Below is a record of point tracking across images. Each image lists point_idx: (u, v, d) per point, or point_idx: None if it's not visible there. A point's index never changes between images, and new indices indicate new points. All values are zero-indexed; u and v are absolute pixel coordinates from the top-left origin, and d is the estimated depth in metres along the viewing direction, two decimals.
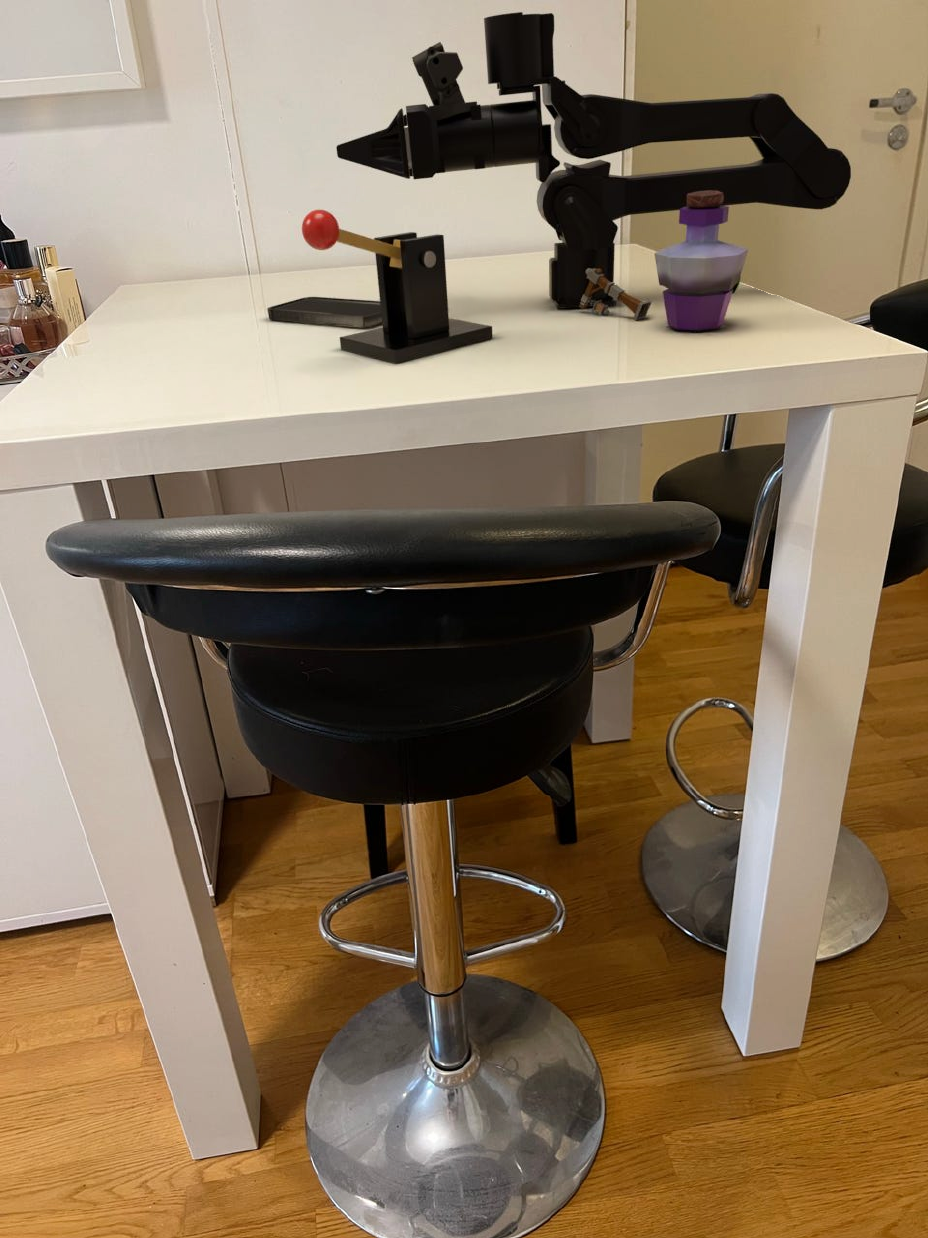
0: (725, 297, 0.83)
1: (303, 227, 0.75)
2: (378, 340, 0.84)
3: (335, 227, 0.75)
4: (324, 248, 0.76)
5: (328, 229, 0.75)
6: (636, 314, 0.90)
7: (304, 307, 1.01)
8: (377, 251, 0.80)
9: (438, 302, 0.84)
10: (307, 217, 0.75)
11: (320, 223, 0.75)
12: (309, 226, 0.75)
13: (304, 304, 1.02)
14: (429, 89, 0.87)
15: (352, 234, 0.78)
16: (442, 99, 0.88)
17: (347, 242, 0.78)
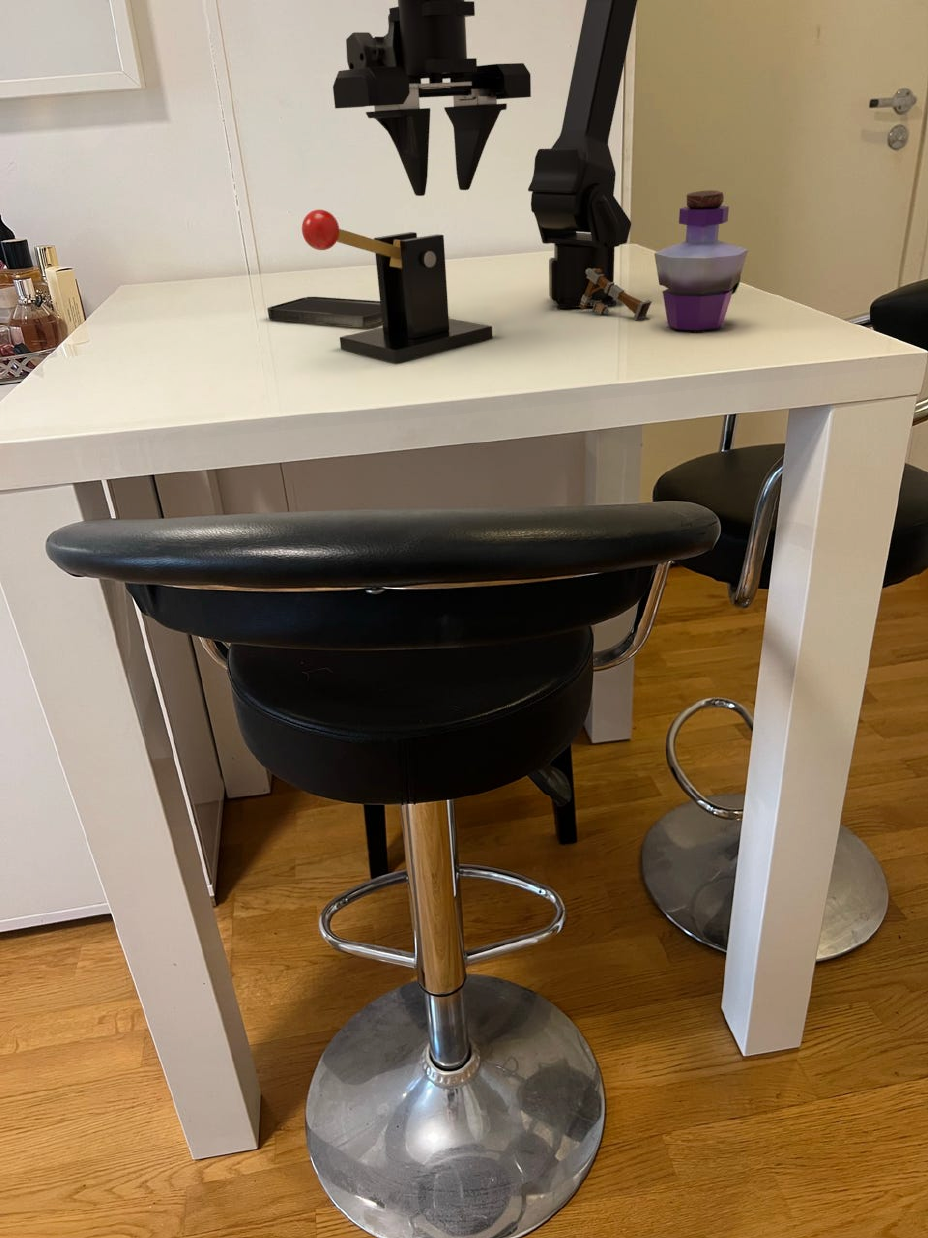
0: (725, 297, 0.83)
1: (303, 227, 0.75)
2: (378, 340, 0.84)
3: (335, 227, 0.75)
4: (324, 248, 0.76)
5: (328, 229, 0.75)
6: (636, 314, 0.90)
7: (304, 307, 1.01)
8: (377, 251, 0.80)
9: (438, 302, 0.84)
10: (307, 217, 0.75)
11: (320, 223, 0.75)
12: (309, 226, 0.75)
13: (304, 304, 1.02)
14: None
15: (352, 234, 0.78)
16: (385, 59, 0.79)
17: (347, 242, 0.78)
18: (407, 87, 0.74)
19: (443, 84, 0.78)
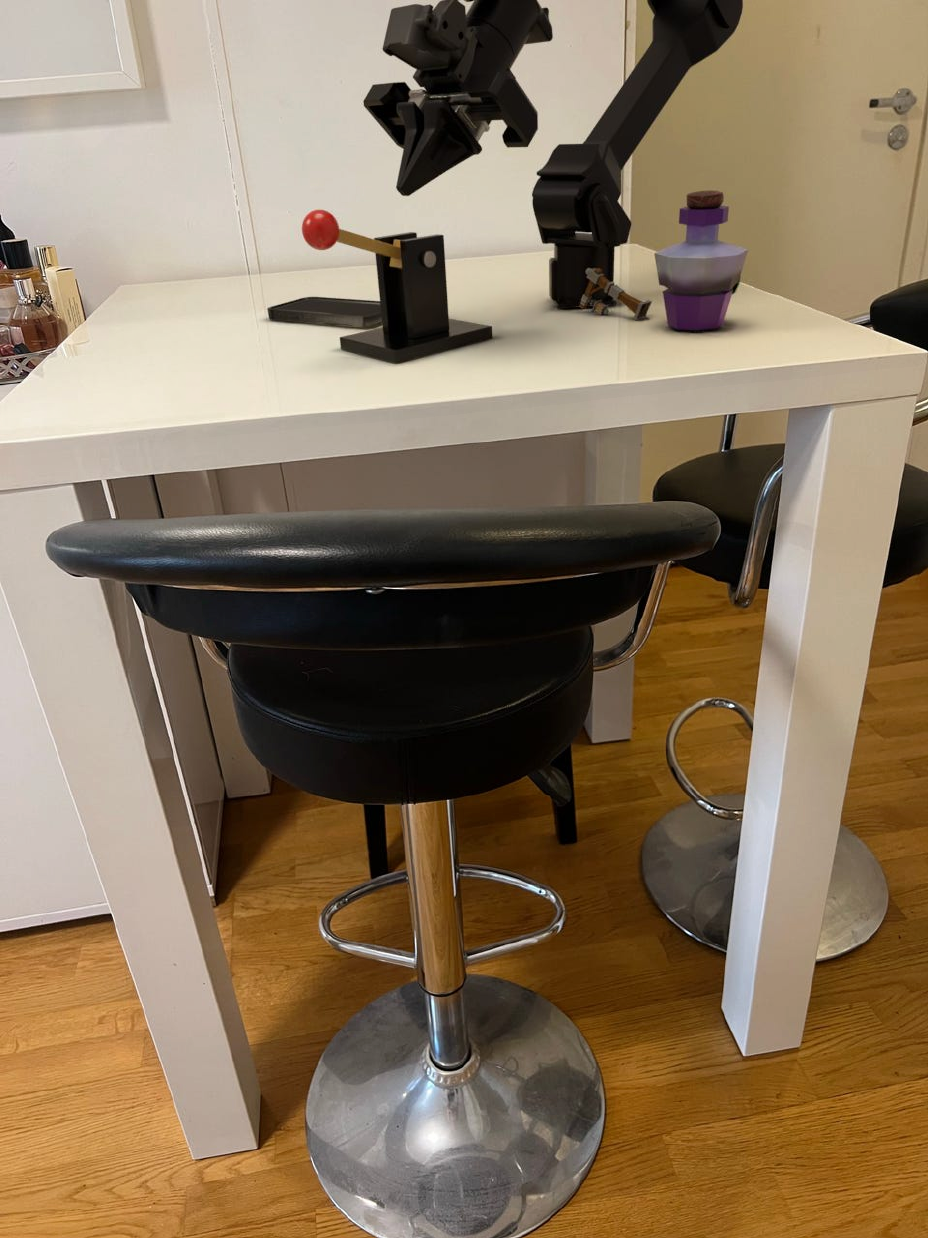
0: (725, 297, 0.83)
1: (303, 227, 0.75)
2: (378, 340, 0.84)
3: (335, 227, 0.75)
4: (324, 248, 0.76)
5: (328, 229, 0.75)
6: (636, 314, 0.90)
7: (304, 307, 1.01)
8: (377, 251, 0.80)
9: (438, 302, 0.84)
10: (307, 217, 0.75)
11: (320, 223, 0.75)
12: (309, 226, 0.75)
13: (304, 304, 1.02)
14: (441, 57, 0.75)
15: (352, 234, 0.78)
16: (457, 54, 0.76)
17: (347, 242, 0.78)
18: None
19: None
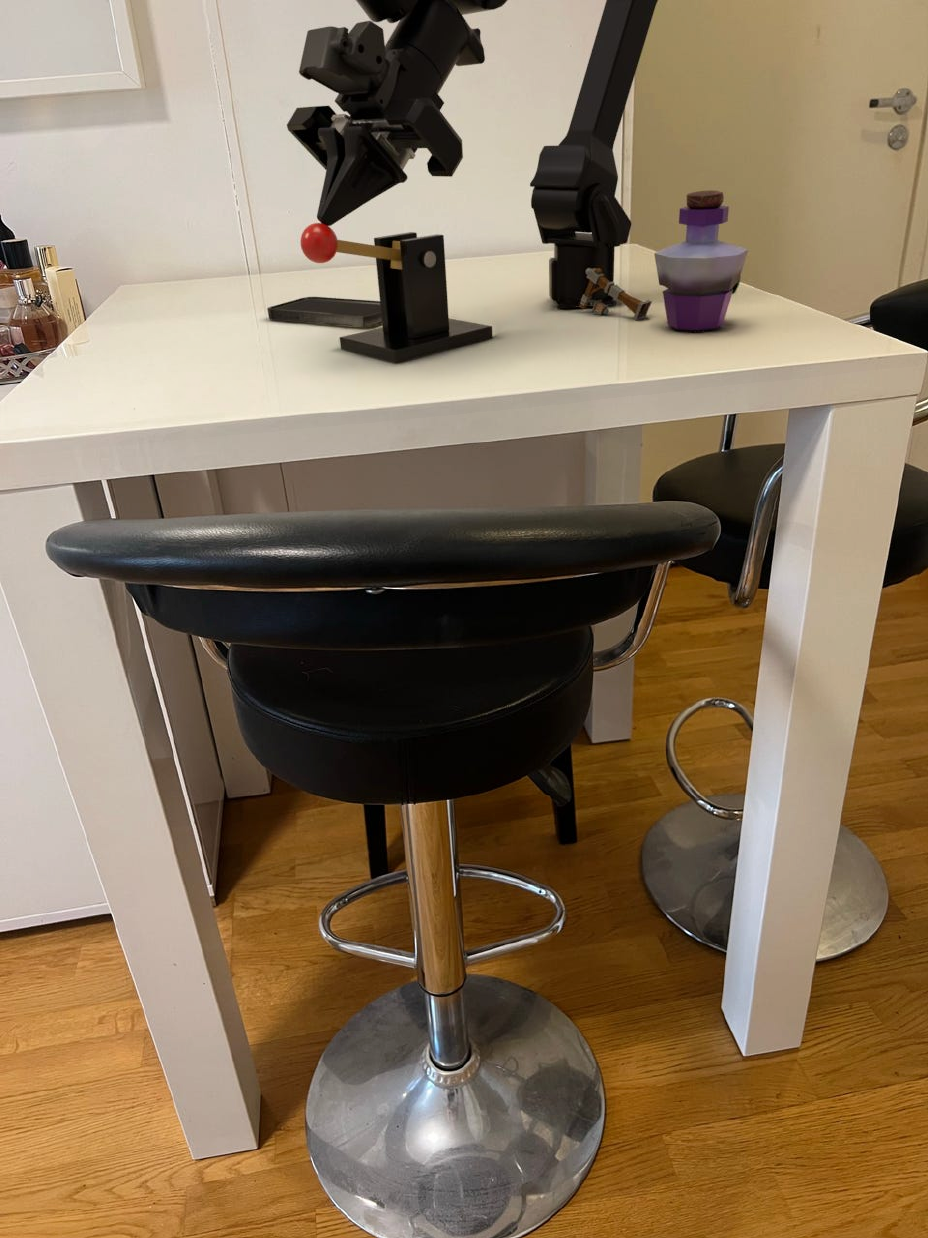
0: (725, 297, 0.83)
1: (302, 242, 0.76)
2: (378, 340, 0.84)
3: (333, 240, 0.76)
4: (324, 261, 0.77)
5: (326, 243, 0.75)
6: (636, 314, 0.90)
7: (304, 307, 1.01)
8: (377, 256, 0.80)
9: (438, 302, 0.84)
10: (305, 232, 0.75)
11: (318, 238, 0.75)
12: (308, 242, 0.75)
13: (304, 304, 1.02)
14: (360, 82, 0.71)
15: (351, 243, 0.78)
16: (377, 79, 0.72)
17: (346, 252, 0.78)
18: None
19: None
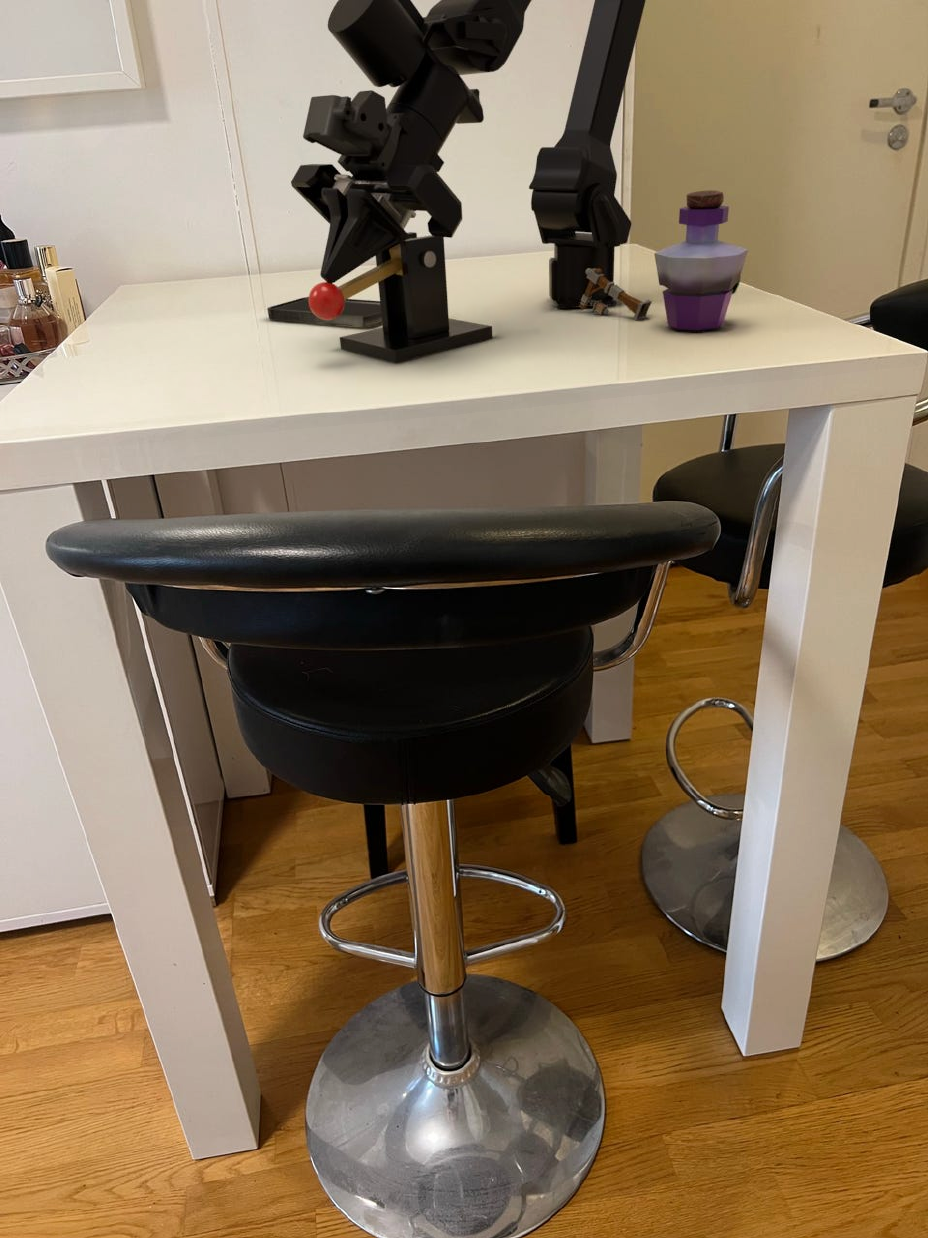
0: (725, 297, 0.83)
1: (312, 310, 0.78)
2: (378, 340, 0.84)
3: (338, 296, 0.78)
4: None
5: (334, 303, 0.78)
6: (636, 314, 0.90)
7: (304, 307, 1.01)
8: (381, 279, 0.81)
9: (438, 302, 0.84)
10: (311, 300, 0.78)
11: (325, 303, 0.77)
12: (317, 309, 0.78)
13: (304, 304, 1.02)
14: (362, 147, 0.73)
15: (354, 284, 0.79)
16: (379, 143, 0.74)
17: (353, 294, 0.80)
18: None
19: None
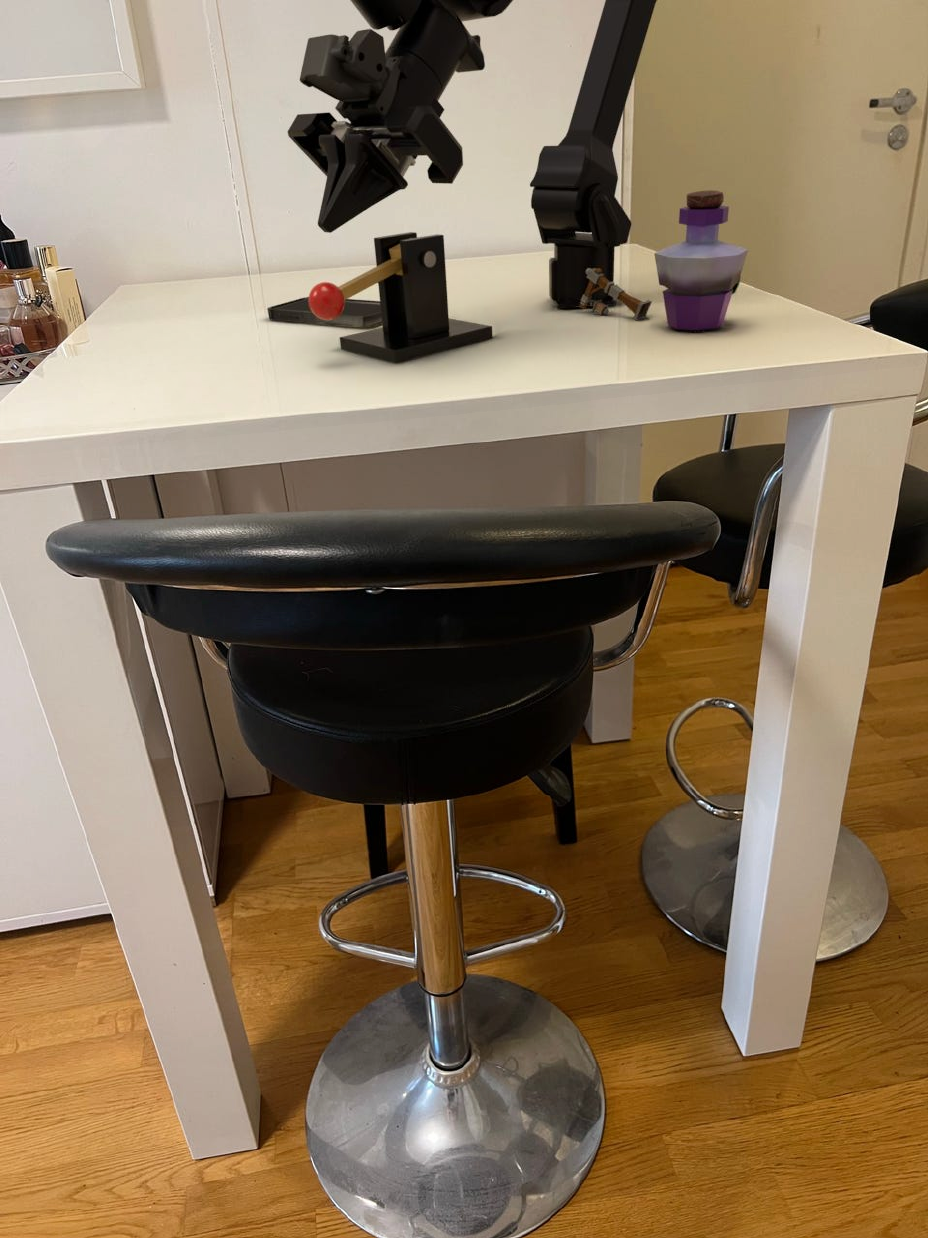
0: (725, 297, 0.83)
1: (312, 310, 0.78)
2: (378, 340, 0.84)
3: (338, 296, 0.78)
4: None
5: (334, 303, 0.78)
6: (636, 314, 0.90)
7: (304, 307, 1.01)
8: (381, 279, 0.81)
9: (438, 302, 0.84)
10: (311, 300, 0.78)
11: (325, 303, 0.77)
12: (317, 309, 0.78)
13: (304, 304, 1.02)
14: (360, 89, 0.72)
15: (354, 284, 0.79)
16: (378, 86, 0.72)
17: (353, 294, 0.80)
18: None
19: None
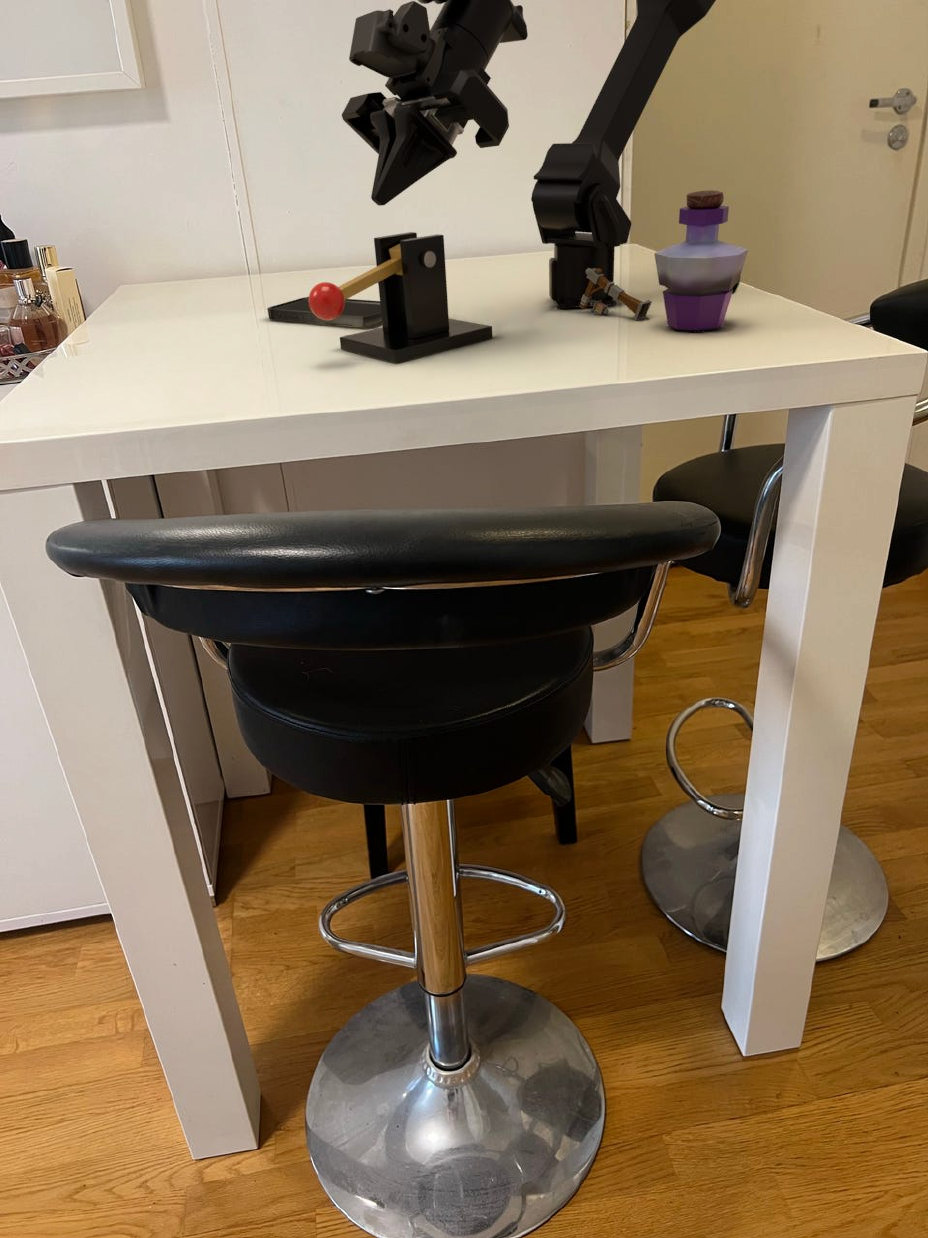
0: (725, 297, 0.83)
1: (312, 310, 0.78)
2: (378, 340, 0.84)
3: (338, 296, 0.78)
4: None
5: (334, 303, 0.78)
6: (636, 314, 0.90)
7: (304, 307, 1.01)
8: (381, 279, 0.81)
9: (438, 302, 0.84)
10: (311, 300, 0.78)
11: (325, 303, 0.77)
12: (317, 309, 0.78)
13: (304, 304, 1.02)
14: (407, 62, 0.74)
15: (354, 284, 0.79)
16: (424, 58, 0.74)
17: (353, 294, 0.80)
18: None
19: None
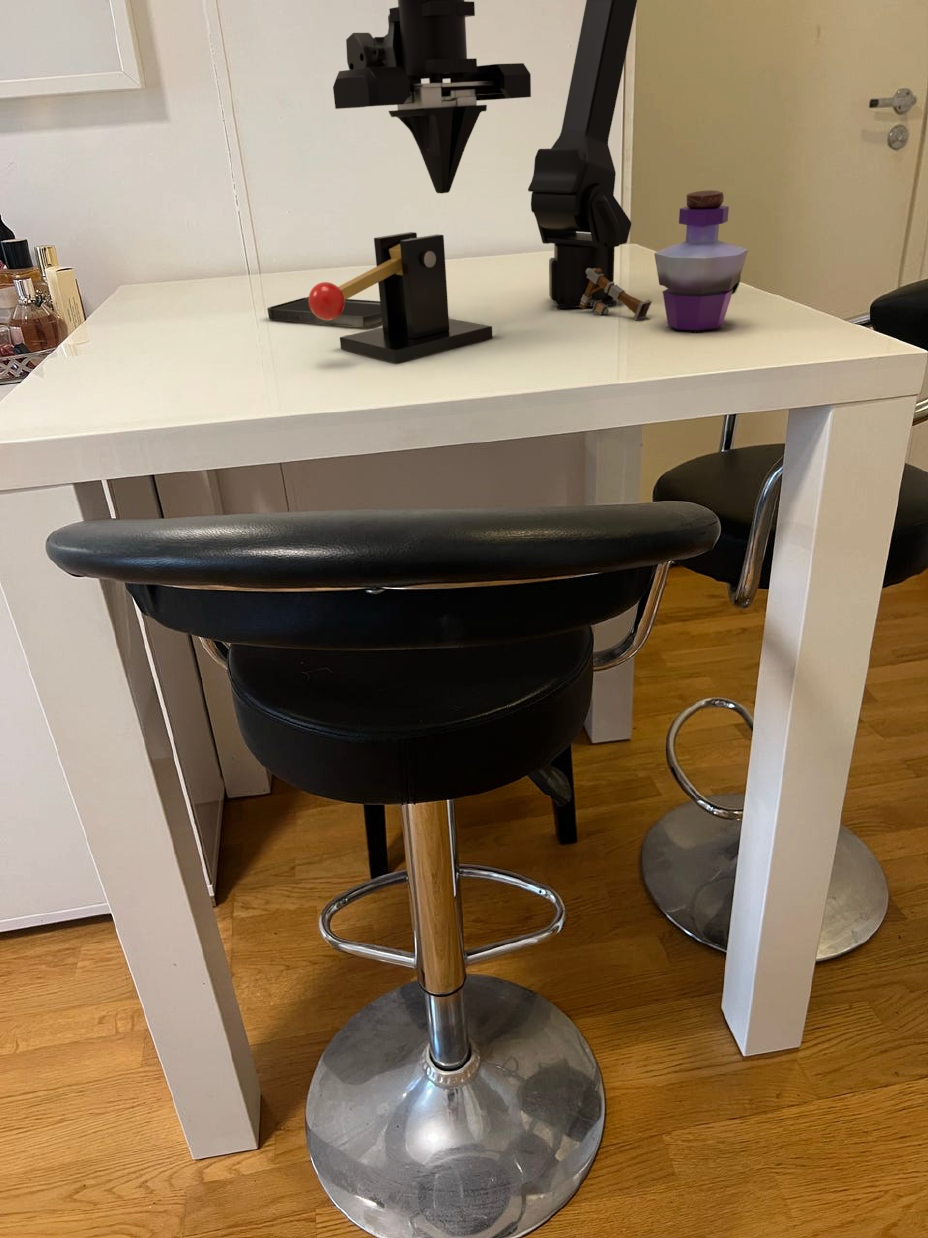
0: (725, 297, 0.83)
1: (312, 310, 0.78)
2: (378, 340, 0.84)
3: (338, 296, 0.78)
4: None
5: (334, 303, 0.78)
6: (636, 314, 0.90)
7: (304, 307, 1.01)
8: (381, 279, 0.81)
9: (438, 302, 0.84)
10: (311, 300, 0.78)
11: (325, 303, 0.77)
12: (317, 309, 0.78)
13: (304, 304, 1.02)
14: None
15: (354, 284, 0.79)
16: (385, 59, 0.79)
17: (353, 294, 0.80)
18: (407, 87, 0.74)
19: (465, 83, 0.79)
